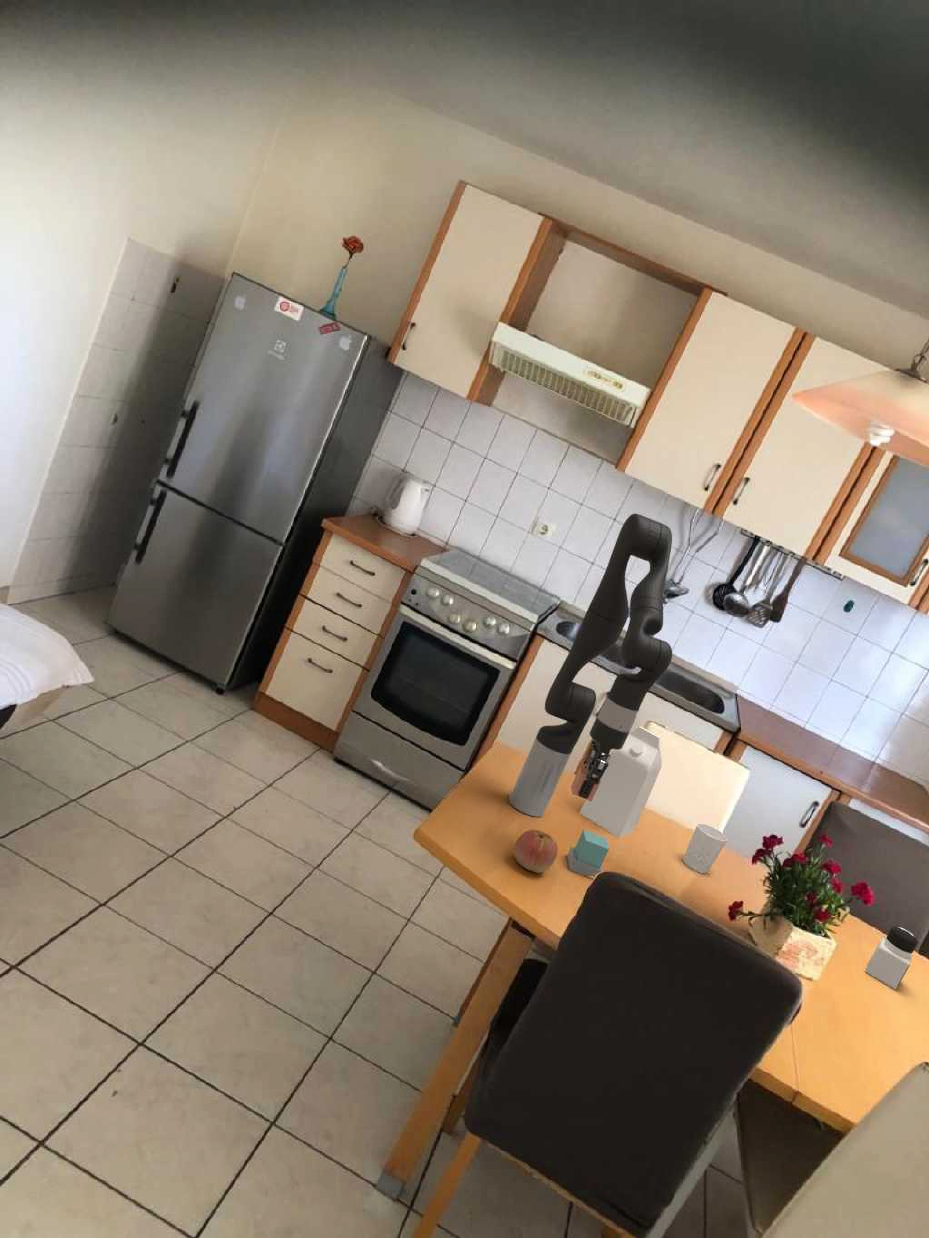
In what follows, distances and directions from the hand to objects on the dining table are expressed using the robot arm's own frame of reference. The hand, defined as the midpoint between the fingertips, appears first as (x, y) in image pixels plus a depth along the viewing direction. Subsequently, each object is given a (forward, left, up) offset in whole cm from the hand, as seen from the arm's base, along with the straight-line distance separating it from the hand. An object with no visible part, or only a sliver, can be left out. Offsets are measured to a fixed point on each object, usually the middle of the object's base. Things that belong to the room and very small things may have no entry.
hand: (581, 791), depth 206 cm
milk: (-36, +18, -17) cm, 44 cm away
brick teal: (-2, +8, -15) cm, 17 cm away
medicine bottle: (-7, +83, -17) cm, 85 cm away
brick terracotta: (0, 0, 0) cm, 0 cm away
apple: (+7, -5, -17) cm, 20 cm away
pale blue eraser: (-2, +8, -17) cm, 19 cm away
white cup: (-29, +41, -17) cm, 53 cm away
